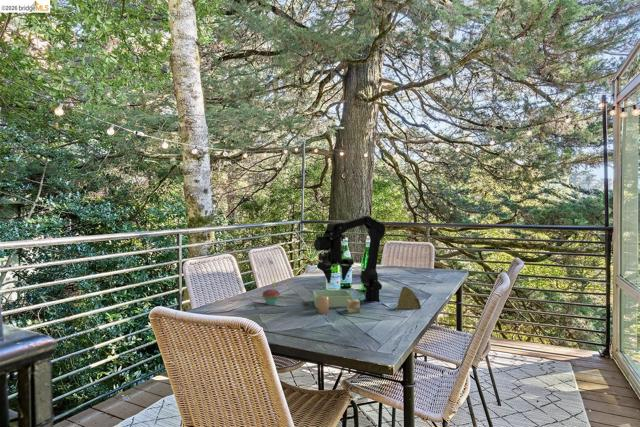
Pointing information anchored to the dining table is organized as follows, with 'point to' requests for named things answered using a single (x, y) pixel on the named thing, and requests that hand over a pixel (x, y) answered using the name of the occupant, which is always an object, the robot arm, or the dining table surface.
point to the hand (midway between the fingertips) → (336, 281)
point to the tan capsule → (323, 304)
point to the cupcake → (271, 295)
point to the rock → (408, 299)
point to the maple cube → (353, 305)
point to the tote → (333, 297)
